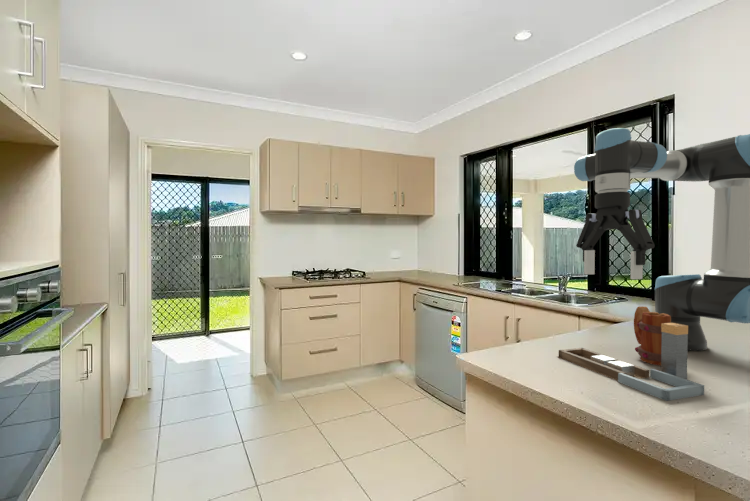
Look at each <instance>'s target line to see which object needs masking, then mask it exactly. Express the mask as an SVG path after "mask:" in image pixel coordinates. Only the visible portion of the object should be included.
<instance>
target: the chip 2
mask: <svg viewBox="0 0 750 501" xmlns="http://www.w3.org/2000/svg"><path fill="white" fill-rule="evenodd" d="M618 360H619V361H611V362H607V366H608V367H611V368H614V369H617V370H620V371H622V372H625V373H626V375H629V376H634V368H635V365H636V364H633V365H632V363H630V362H627V363H626V361H624V360H621V359H618ZM620 360H621V361H620ZM623 361H624V362H623ZM629 363H630V364H629Z"/></svg>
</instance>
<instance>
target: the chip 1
mask: <svg viewBox="0 0 750 501" xmlns="http://www.w3.org/2000/svg"><path fill="white" fill-rule="evenodd" d="M611 357H612V356H609V357H608V355H606V356H605V354H603V355H597V356H591V360H592V361H595V362H597V363H600V364H603V365H606V366H607V362H611V361H616V359H617V358H615V359H614V357H612V358H611Z"/></svg>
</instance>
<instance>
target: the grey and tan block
mask: <svg viewBox="0 0 750 501" xmlns="http://www.w3.org/2000/svg"><path fill="white" fill-rule="evenodd" d="M661 332H662V347H661V366H660V367H661V368H660V371H662V372H665V373H668V374H671V375H674V376H677V377H680V378H683V379H687V380H688V350H687V346H688V325H682V324H677V323H661Z"/></svg>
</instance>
